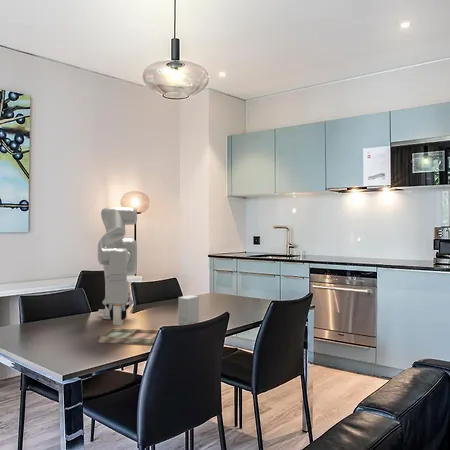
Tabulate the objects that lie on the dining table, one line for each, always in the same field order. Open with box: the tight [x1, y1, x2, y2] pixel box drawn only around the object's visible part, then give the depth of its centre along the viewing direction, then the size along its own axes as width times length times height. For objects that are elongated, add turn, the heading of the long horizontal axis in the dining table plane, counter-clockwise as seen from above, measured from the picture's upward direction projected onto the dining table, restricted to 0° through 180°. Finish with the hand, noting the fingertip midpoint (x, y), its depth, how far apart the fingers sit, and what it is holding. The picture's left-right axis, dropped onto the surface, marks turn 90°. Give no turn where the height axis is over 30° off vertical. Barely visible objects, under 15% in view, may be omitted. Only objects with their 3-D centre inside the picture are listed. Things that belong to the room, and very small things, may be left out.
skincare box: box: [177, 294, 200, 326], centre depth 221 cm, size 8×7×16 cm
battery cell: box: [112, 304, 124, 326], centre depth 203 cm, size 4×4×11 cm
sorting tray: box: [97, 327, 159, 346], centre depth 202 cm, size 24×16×2 cm, turn 82°
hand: (118, 318), depth 203 cm, fingers closed on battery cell, 4 cm apart
